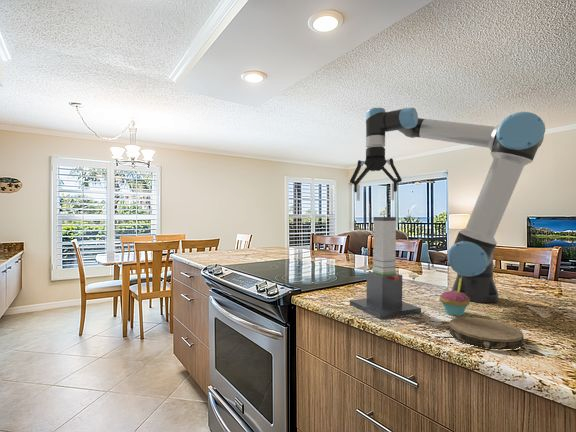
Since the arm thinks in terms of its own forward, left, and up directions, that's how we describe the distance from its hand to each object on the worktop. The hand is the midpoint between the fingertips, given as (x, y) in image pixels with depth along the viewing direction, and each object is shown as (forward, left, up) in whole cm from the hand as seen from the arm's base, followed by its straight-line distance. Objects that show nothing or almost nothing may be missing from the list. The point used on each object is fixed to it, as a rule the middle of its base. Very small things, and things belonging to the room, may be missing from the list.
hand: (375, 200), depth 130 cm
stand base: (-6, +24, -37) cm, 44 cm away
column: (-6, +24, -29) cm, 38 cm away
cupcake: (-27, +21, -37) cm, 50 cm away
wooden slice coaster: (-32, +40, -37) cm, 63 cm away
